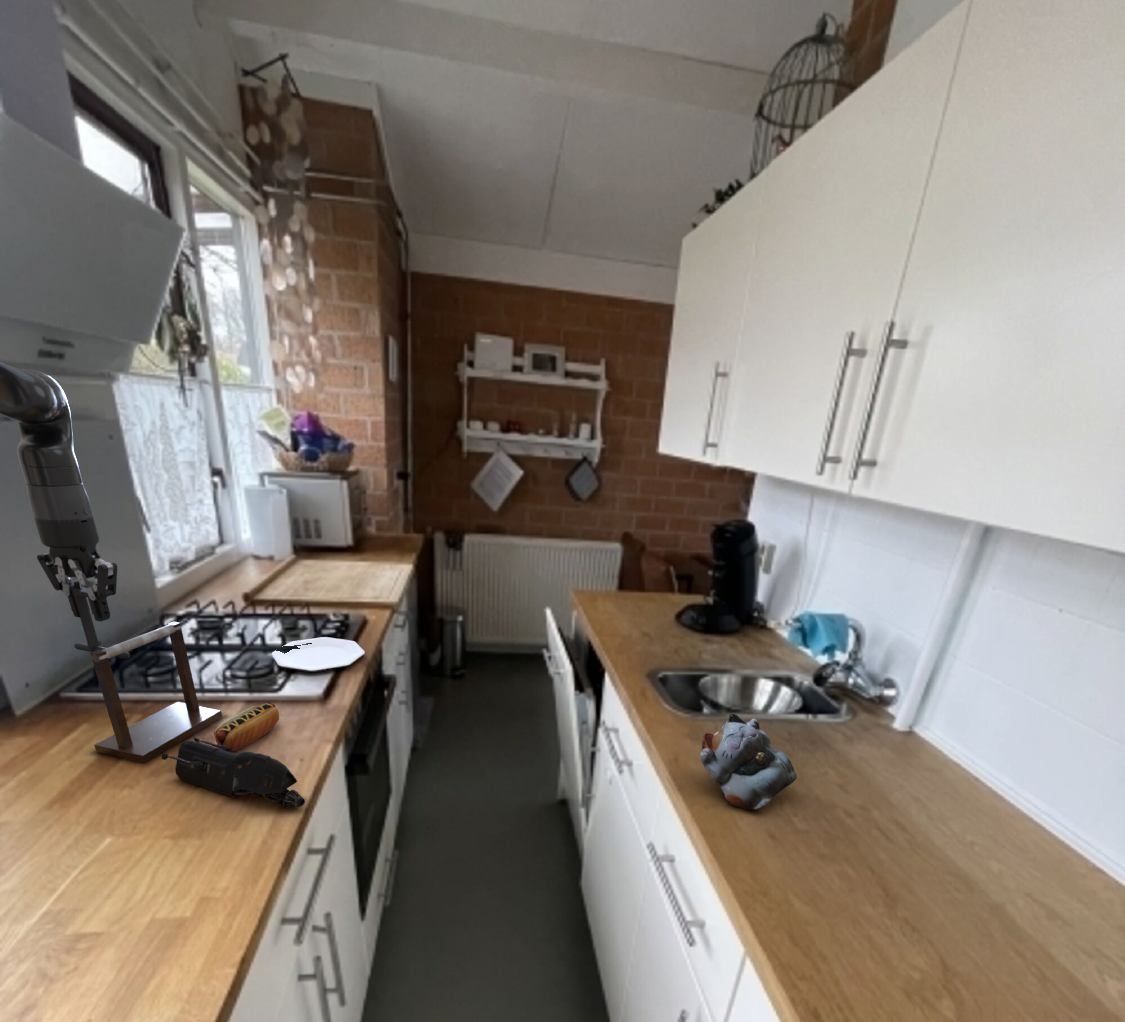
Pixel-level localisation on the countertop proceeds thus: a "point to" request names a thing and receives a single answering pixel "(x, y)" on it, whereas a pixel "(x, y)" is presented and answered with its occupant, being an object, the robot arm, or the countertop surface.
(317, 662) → the plate
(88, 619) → the hanger
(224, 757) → the black toy vehicle
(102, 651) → the rail stand
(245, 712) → the hot dog
